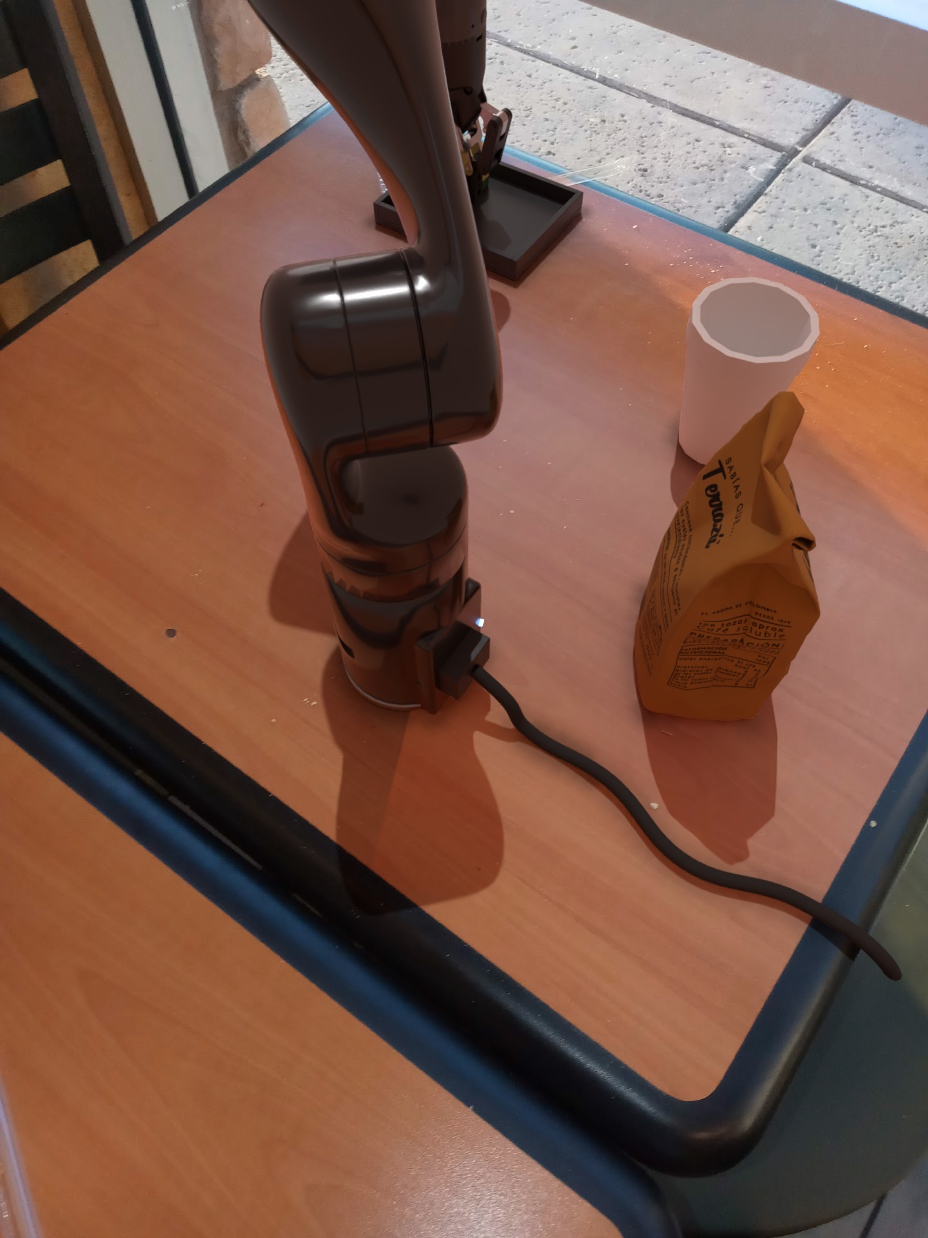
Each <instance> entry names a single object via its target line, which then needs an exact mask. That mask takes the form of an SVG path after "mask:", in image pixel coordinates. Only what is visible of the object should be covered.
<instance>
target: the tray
mask: <svg viewBox="0 0 928 1238" xmlns="http://www.w3.org/2000/svg"><path fill="white" fill-rule="evenodd" d="M584 193H585V192H584V191H582V190H579V189H577V188H574V187H571V186H568V185H566V184H564V183H561V182H558V181H555V180H553V179H550V178H548V177H545V176H542V175H540V174H537V173H535V172H531V171H528V170H526V169H523V168H521V167H517V166H515V165H513V164H509V163H507V162H505V161H502V160H501V162H500V163H499V164H498V165H497V166H495V167H494V168H493V169H492V170H491V171H490V172H489V182H488V186H486V187H485V188H484V189H483V190H482V195H481V197H480V198H479V199H478V200H476V201H475V202H474V203H473V204H472V208H473V213H474V217H475V222H476V227H477V231H478V236H479V240H480V245H481V250H482V254H483V259H484V263H485V268H486V270H489V272H490V271H491V272H493V273H495V274H497V275H500V276H503V277H505V278H508V279H510V280H513V281H514V282H516V281H517V280H518V279H519V278H520V277H521V276H522V275H523V274H524V273H525V272H526V271H527V269H529V267H530V266H532V264H533V263H535V261H536V260H537V259H538V258H539V257H540V256H541V255H542V254H543V253H544V252H545V251H546V250H547V248H549V247H550V246H551V244H552V243H553V242H554V241H555V240H556V239H557V238H558V237H559V236H560V235H561V234H562V233H563V232H564V231H565V230H566V229H567V228H568V226H570V225H571V224H572V222H573V221H574V220H575V219H576V218H577V217H578V216H579V215H580V214H581V213H582V208H583V201H584ZM372 204H373V213H374V214H373V216H374V221H375V224H378V225H380V226H382V227H386V228H387V229H390V230H393V231H394V232H397V233H400V234H403V235H404V236H406V234H405V231H404V228H403V225H402V223H401V220H400V217H399V215H398V213H397V210H396V208H395V205H394V203H393V201H392V199H391V197H390V195H389V192H388V190H387V189H386V191H385V192H384V193H382V194H381V195H380V196H379V197H378V198H376V199H375V200H374V201H373V202H372Z"/></svg>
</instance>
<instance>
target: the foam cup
mask: <svg viewBox="0 0 928 1238" xmlns="http://www.w3.org/2000/svg"><path fill="white" fill-rule="evenodd" d="M820 335H821V332H820V319H819V313H817V312H816V310H815V309H814V307H813V306H812V305H811V304H810V302H809V301H808V299H807V298H806V297H805V296H804V295H802V294H800V293H799V292H797V291H795V290H794V289H792V288H791V287H788V286H787V285H786V284H783V283H782V282H777V281H773V280H769V279H764V278H760V277H757V276H748V277H731V278H725V279H723V280H720V281H718V282H716V283H713V284H711V285H709V286H706V287H704V288H703V289H702V290H701V292H700V293H699V294H698V296H697V297H696V298H695V300H694V301H693V302H692V304H691V308H690V312H689V314H688V319H687V324H686V327H685V348H686V351H685V365H684V375H683V384H682V395H681V403H680V415H679V429H678V443H679V445H680V447H681V448H682V450H683V452H684V454H685V455H687V457H690V459H692V460H694V461H695V462H697V463H698V464H700V465H704V466H706V464H707V463H708V462H709V461H710V460H711V458H712V457H713V456H714V454H715V453H716V452H717V451H718V450H719V449H720V448H722V447H723V446H724V445H725V444H726V443H727V442H729V441H730V440H731V439H732V438H733V437H734V436H735V435H736V434H737V432H738V431H739V430H740V429H741V428H742V426H743V425H744V424H746V423H747V422H748V421H749V420H750V419H751V418H752V417H753V416H754V415H755V414H756V413H758V412H760V411H761V410H762V409H763V408H764V406H765V405H766V404H767V403H768V402H769V401H770V400H771V399H772V398H773V397H774V396H775V395H776V394H778V393H779V392H780V391H781V392H788V390H789V388H790V387H791V385H792V384H793V382H794V381H795V379H796V378H797V376H799V375H800V373H801V372H802V371H803V369H804V368H805V366H806V365H807V363H808V362H809V360H810V359H811V356H812V354H813V351H814V349H815V346H816V344H817V342H818V339H819V337H820Z"/></svg>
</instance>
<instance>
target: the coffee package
mask: <svg viewBox="0 0 928 1238" xmlns="http://www.w3.org/2000/svg"><path fill="white" fill-rule="evenodd" d="M805 411H806V409H805V408H804V406H803V405H802V403H801V402H800V401H799V399H798V397H797V395H796V394H795V392H794V391H787V392H781V391H780V392H779V393H778V394H776V395H775V396H774V397H773V398H772V399H771V400H770V401H769V402H768V403H767V404H766V405H765V406H764V408H763V409H762V410H761V411H760V412H758V413H756V414H755V415H754V416H753V417H752V418H751V419H750V420H749V421H748V422H747V423H746V424H744V425H743V426H742V428H741V429H740V430H739V431H738V432H737V434H736V435H735V436H734V437H733V438H732V439H731V440H730V441H729V442H727V443H726V444H725V445H724V446H723V447H722V448H720V449H719V450H718V451H717V452H716V453H715V454H714V456H713V457H712V458H711V460H710V461H709V462H708V463H707V464H706V465H704V467H703V468H702V469H701V470H699V471H698V473H697V474H696V477H695V478H694V480H693V482H692V483H691V484H690V486H689V488H688V490H687V492H686V495H685V496H684V497H683V499H682V500H681V502H680V504H679V506H678V508H677V510H676V512H675V514H674V516H673V518H672V520H671V522H670V524H669V526H668V527H667V529H666V530H665V533H664V535H663V536H662V539H661V542H660V545H659V546H658V547H659V548H658V550H657V553H656V556H655V559H654V561H653V565H652V567H651V568H652V569H651V571H650V576H649V577H648V578H649V579H648V581H647V585H646V589H645V590H644V592H643V595H642V598H641V602H640V606H639V610H638V616H637V619H636V623H635V625H634V637H633V648H634V661H635V669H636V675H637V676H636V677H637V685H638V690H639V695H640V696H639V697H640V699H641V704H642V706H643V707H644V709H646V710H648V711H650V712H652V713H655V714H662V715H671V716H676V717H680V718H685V719H689V720H700V721H710V720H712V721H714V720H715V721H721V722H723V721H725V722H727V721H728V722H730V721H731V722H732V721H739V720H751V719H754V718H756V717H757V716H758V714H759V713H760V711H761V709H762V707H763V706H764V704H765V703H766V701H767V700H768V699H769V698H770V697H771V696H772V695H773V692H774V691H775V689H776V688H777V687H778V685H780V683H781V682H782V680H783V679H784V678H785V677H786V676H787V675H788V674H789V671H790V667H791V664H792V662H793V661H794V660H795V659H796V657H797V655H798V653H799V651H800V650H801V648H802V646H803V644H804V642H805V640H806V639H807V636H808V635H809V634H810V633H811V632H812V630H813V628H814V627H815V626H816V624H817V622H818V621H819V619H820V618H821V608H820V607H821V606H820V602H819V597H818V593H817V589H816V585H815V580H814V577H813V573H812V566H811V560H810V554H809V552H812V551H813V550H814V549H815V548H816V547H817V541H816V537H815V535H814V533H813V532H812V531H811V529H810V528H809V526H808V525H807V523H806V521H805V520H804V519H803V517H802V515H801V514H802V513H801V510H800V506H799V503H798V500H797V495H796V491H795V487H794V483H793V481H792V479H791V475H790V473H789V470H788V468H787V466H786V465H785V463H784V461H785V460H786V458H787V455H788V454H789V452H790V451H791V447H792V444H793V442H794V438H795V435H796V433H797V431H798V429H799V428H800V425H801V423H802V420H803V418H804V415H805Z"/></svg>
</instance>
